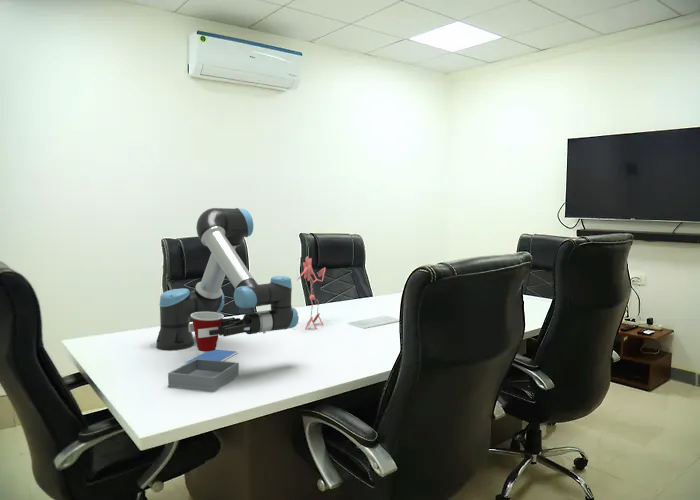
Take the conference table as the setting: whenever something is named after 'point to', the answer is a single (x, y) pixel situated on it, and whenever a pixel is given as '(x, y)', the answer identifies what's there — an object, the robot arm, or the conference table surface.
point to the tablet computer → (215, 355)
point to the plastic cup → (206, 321)
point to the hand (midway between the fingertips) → (193, 330)
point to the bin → (203, 375)
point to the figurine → (308, 272)
